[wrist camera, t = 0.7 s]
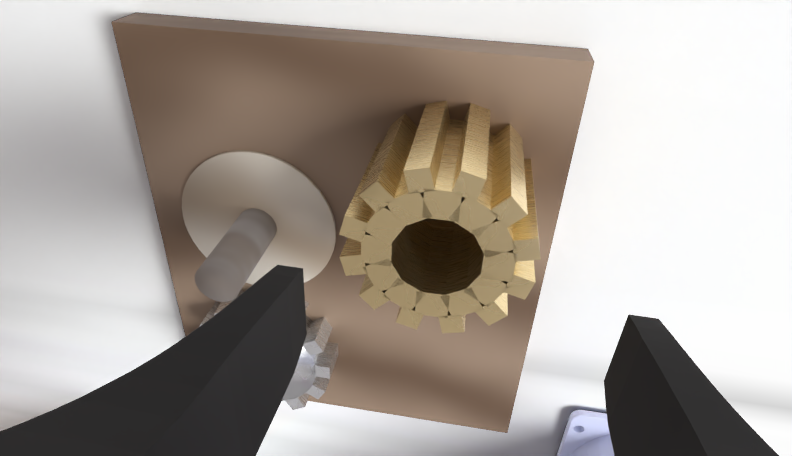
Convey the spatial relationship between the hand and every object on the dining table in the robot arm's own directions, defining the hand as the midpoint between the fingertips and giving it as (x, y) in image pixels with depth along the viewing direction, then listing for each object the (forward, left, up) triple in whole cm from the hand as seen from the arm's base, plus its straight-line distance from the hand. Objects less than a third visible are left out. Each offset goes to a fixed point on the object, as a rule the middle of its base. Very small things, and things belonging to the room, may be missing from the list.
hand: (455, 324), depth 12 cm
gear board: (-5, +5, -10) cm, 12 cm away
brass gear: (-1, +1, -8) cm, 8 cm away
